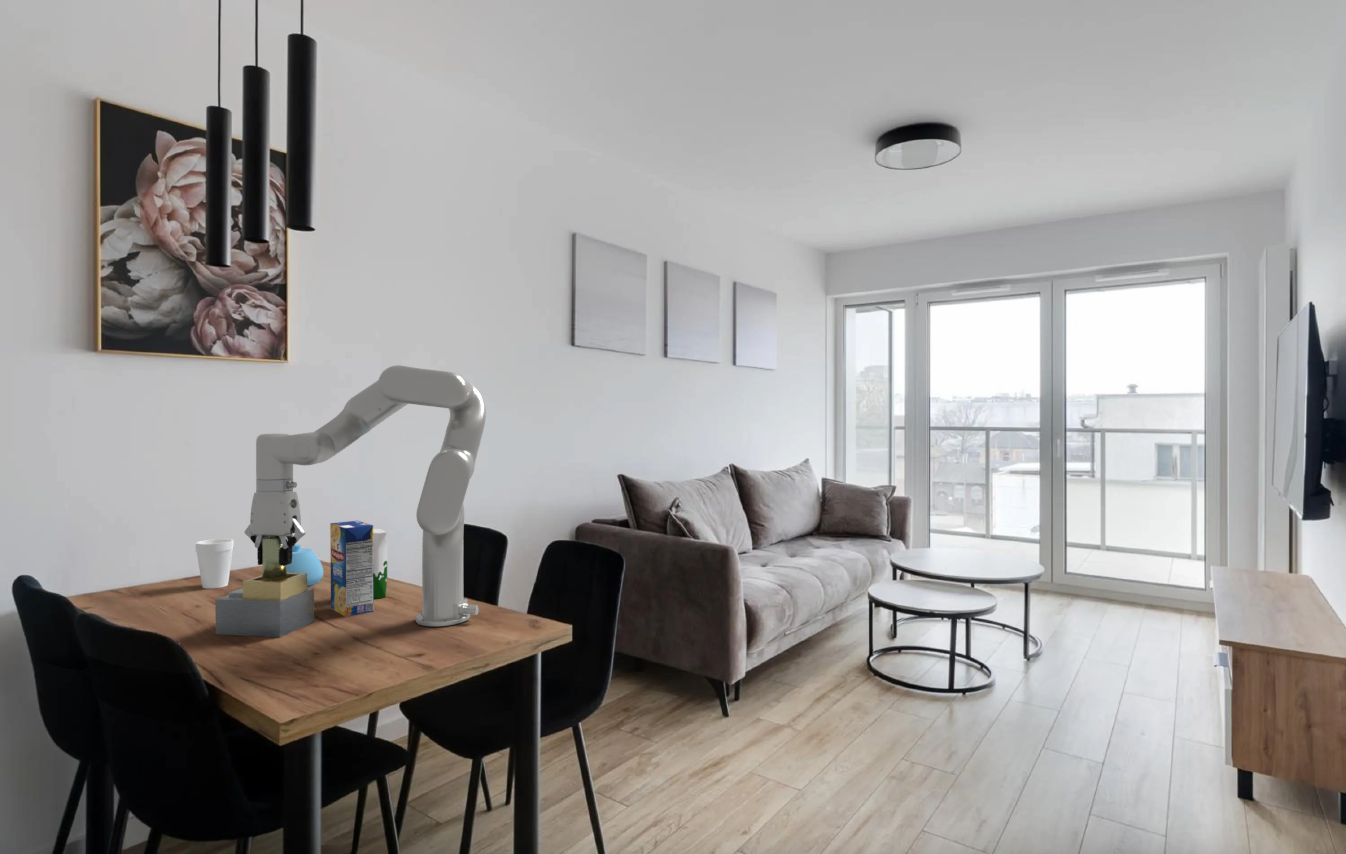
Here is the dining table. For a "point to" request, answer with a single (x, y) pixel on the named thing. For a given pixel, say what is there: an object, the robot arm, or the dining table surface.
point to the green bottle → (272, 558)
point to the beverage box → (352, 568)
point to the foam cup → (214, 561)
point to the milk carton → (379, 563)
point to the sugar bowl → (306, 564)
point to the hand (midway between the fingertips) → (274, 563)
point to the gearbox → (266, 607)
